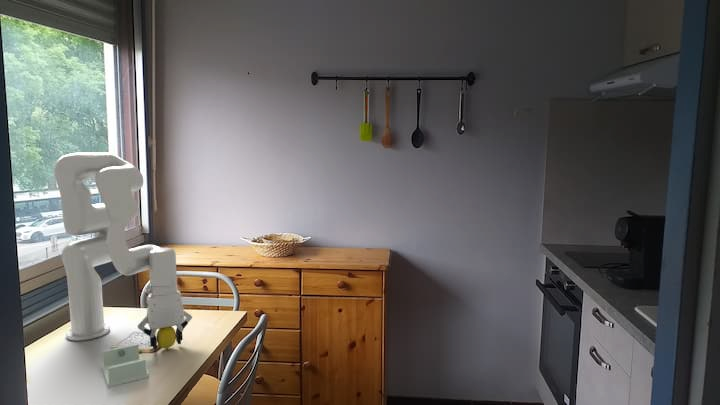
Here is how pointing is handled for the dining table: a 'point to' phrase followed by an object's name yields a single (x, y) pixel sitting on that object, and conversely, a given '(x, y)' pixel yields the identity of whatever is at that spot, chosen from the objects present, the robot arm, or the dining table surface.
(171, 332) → the lemon
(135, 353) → the holder
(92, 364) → the dining table surface
